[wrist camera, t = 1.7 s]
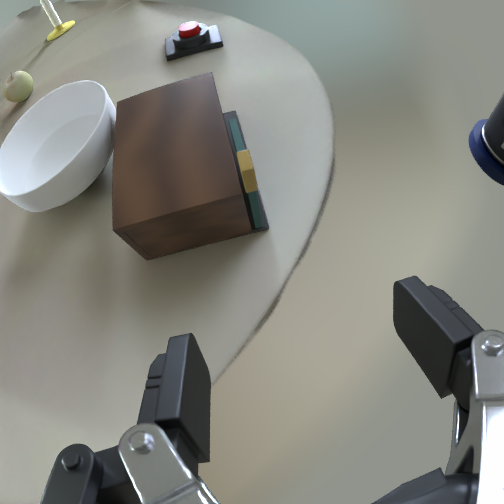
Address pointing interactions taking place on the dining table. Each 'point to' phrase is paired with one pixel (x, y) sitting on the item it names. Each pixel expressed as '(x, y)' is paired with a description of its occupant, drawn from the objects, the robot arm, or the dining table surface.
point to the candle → (55, 21)
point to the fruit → (18, 87)
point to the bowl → (58, 146)
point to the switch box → (192, 42)
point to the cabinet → (178, 171)
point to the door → (246, 172)
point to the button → (189, 29)
